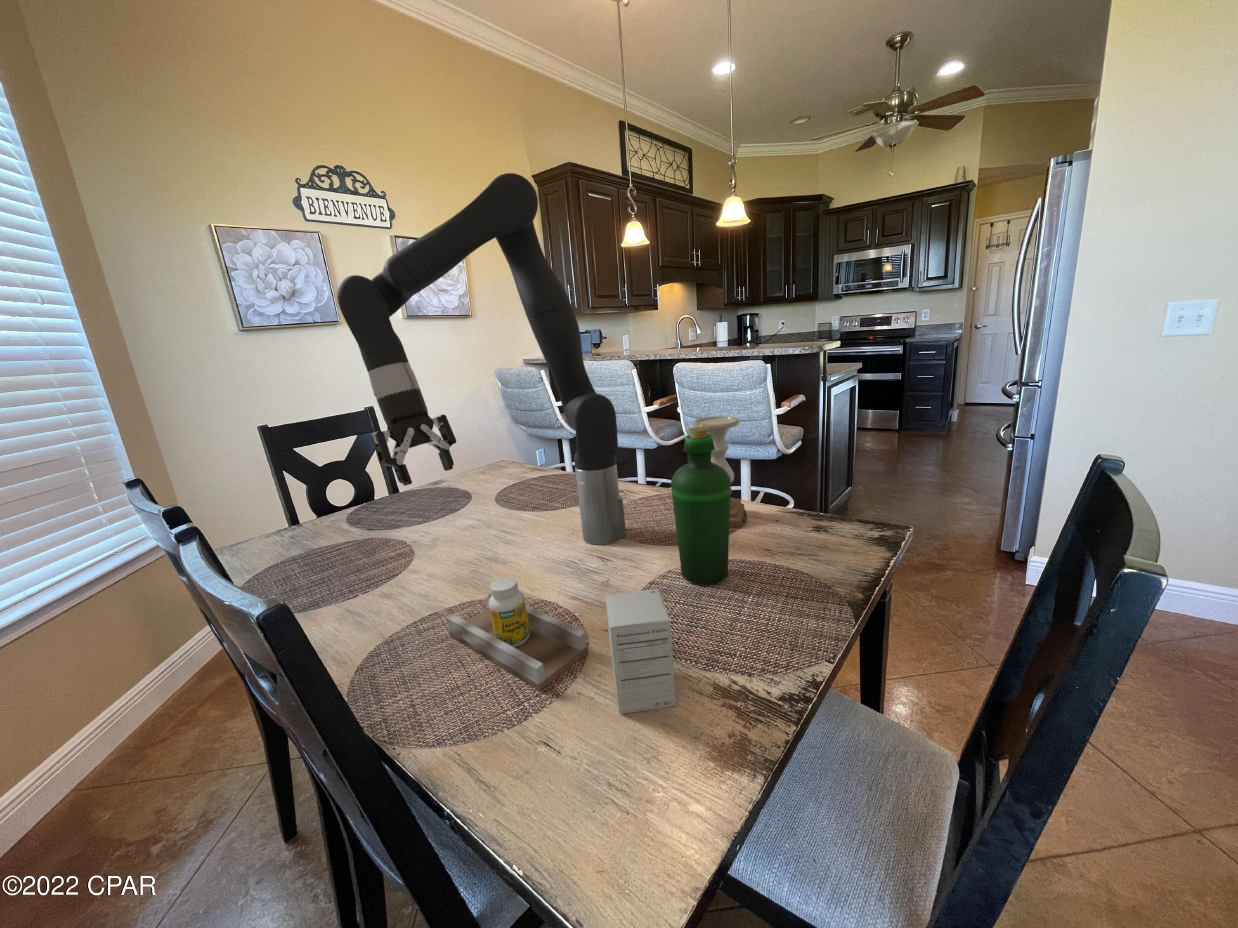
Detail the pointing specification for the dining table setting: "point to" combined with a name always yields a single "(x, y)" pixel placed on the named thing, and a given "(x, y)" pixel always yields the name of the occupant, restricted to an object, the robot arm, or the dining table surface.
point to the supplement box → (641, 650)
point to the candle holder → (723, 458)
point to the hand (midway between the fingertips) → (429, 477)
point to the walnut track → (524, 645)
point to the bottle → (702, 511)
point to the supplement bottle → (508, 612)
